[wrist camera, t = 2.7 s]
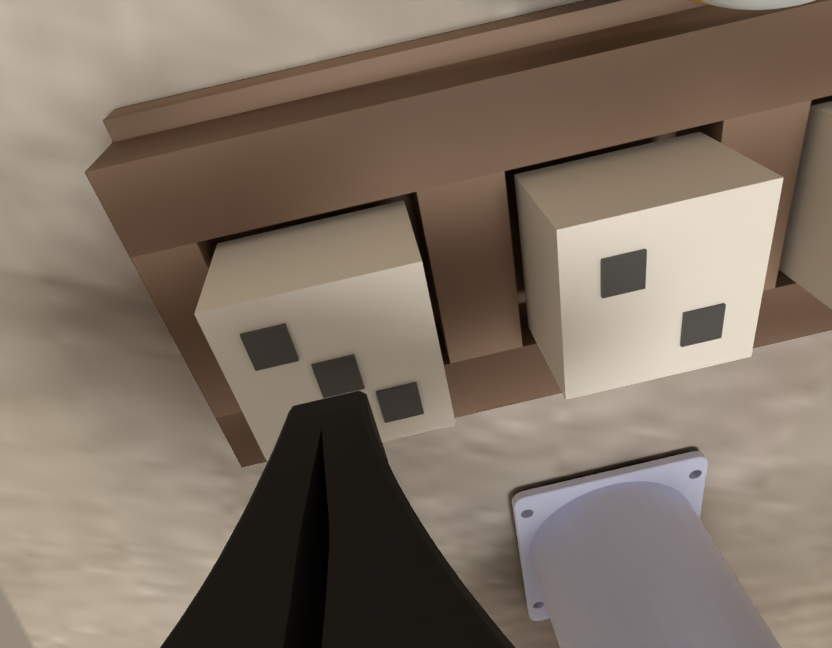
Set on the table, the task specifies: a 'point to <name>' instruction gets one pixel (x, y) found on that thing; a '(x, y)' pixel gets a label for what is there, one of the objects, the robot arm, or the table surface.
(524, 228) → the key two
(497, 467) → the table surface
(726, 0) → the supplement bottle
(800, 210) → the key one
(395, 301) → the key three
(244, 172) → the brown wooden tray
